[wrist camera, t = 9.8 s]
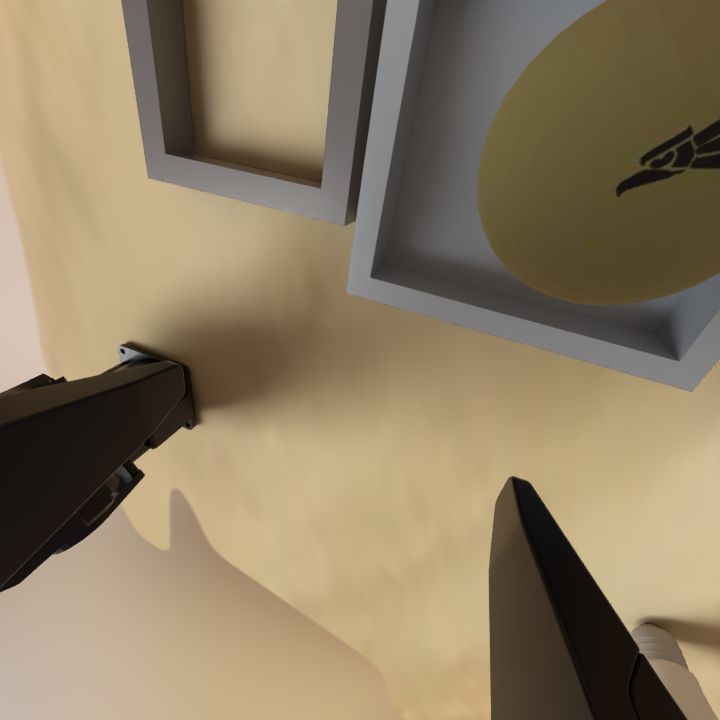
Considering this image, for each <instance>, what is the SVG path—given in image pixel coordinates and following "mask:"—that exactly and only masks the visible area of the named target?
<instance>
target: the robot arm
mask: <svg viewBox="0 0 720 720" xmlns="http://www.w3.org/2000/svg"><path fill="white" fill-rule="evenodd" d="M118 352H119V356H120V360H121V363H120V364H118V365H117V366H115V367H113V368H111V369H109V370H107V371H105V372H103V373H102V374H100V375H97V376H93V377H88V378H83V379H79V380H74V381H69V382H68V381H67V380H66V379H65V377H64V376H63V377H61V378H59V379H57V380H54V379H53V378H51V377H49V376H47V375H45V374H41V375H39V376H37V377H35V378H33V379H31V380H29V381H27V382H24V383H22V384H20V385H18V386H16V387H13V388H11V389H9V390H7V391H4V392H2V393H0V592H2V591H4V590H6V589H9V588H11V587H13V586H16V585H18V584H19V583H21V582H22V581H23V580H24V579H25V578H26V577H27V576H28V575H30V574H31V573H32V572H33V571H34V570H35V569H36V568H37V567H38V566H40V565H41V564H42V563H43V562H44V561H45V560H46V559H48V558H49V557H50V556H51V555H52V554H59V553H61V552H63V551H65V550H67V549H69V548H71V547H72V546H74V545H76V544H77V543H79V542H80V541H82V540H83V539H84V538H86V537H87V536H88V535H90V534H91V533H92V532H93V531H94V530H96V529H97V528H98V527H99V526H100V525H101V524H102V523H103V522H104V521H105V520H106V519H107V518H108V517H109V516H110V514H111V513H112V512H113V511H114V510H115V509H116V508H117V507H118V505H119V504H120V503H121V502H122V501H123V500H124V499H125V498H126V496H127V495H128V494H129V493H130V492H131V491H132V490H133V489H134V487H135V486H136V485H137V484H138V483H139V482H140V481H141V479H142V478H143V477H144V476H145V474H144V473H143V472H142V470H141V469H138V468H137V467H136V466H135V464H134V463H133V462H134V461H135V460H137V459H138V458H139V457H140V456H141V455H143V454H144V453H145V452H146V451H147V450H149V449H150V448H151V449H155V448H157V447H158V446H160V445H161V444H162V443H163V442H164V441H166V440H167V439H168V438H169V437H170V436H171V435H173V434H174V433H175V432H176V431H177V430H179V429H180V428H181V427H184V428H186V429H189V430H192V429H193V428H194V427H195V426H196V420H195V413H194V405H193V397H192V389H191V382H190V374H189V370H188V368H187V367H186V366H184V365H182V364H180V363H177V362H174V361H171V360H169V359H166V358H163V357H161V356H158V355H155V354H152V353H150V352H147V351H144V350H141V349H139V348H136V347H133V346H130V345H128V344H122V345H120V346H118ZM489 621H490V679H491V720H688V719H687V717H686V716H685V714H684V713H683V711H682V710H681V709H680V707H679V706H678V704H677V703H676V701H675V700H674V698H673V697H672V695H671V694H670V692H669V691H668V690H667V688H666V687H665V685H664V684H663V682H662V681H661V679H660V678H659V676H658V675H657V673H656V672H655V670H654V669H653V667H652V666H651V664H650V663H649V661H648V660H647V658H646V657H645V655H644V654H643V653H639V652H640V648H639V646H638V645H637V643H636V642H635V640H634V639H633V637H632V636H631V634H630V633H629V631H628V630H627V628H626V627H625V625H624V624H623V622H622V621H621V619H620V618H619V616H618V615H617V613H616V612H615V610H614V609H613V607H612V606H611V604H610V603H609V601H608V600H607V598H606V597H605V595H604V594H603V592H602V590H601V589H600V587H599V586H598V584H597V583H596V581H595V580H594V578H593V577H592V575H591V574H590V572H589V571H588V569H587V568H586V566H585V565H584V563H583V562H582V560H581V559H580V557H579V556H578V554H577V553H576V551H575V550H574V548H573V547H572V545H571V544H570V542H569V541H568V539H567V538H566V536H565V535H564V533H563V532H562V530H561V529H560V527H559V526H558V524H557V523H556V521H555V519H554V518H553V516H552V515H551V513H550V512H549V510H548V509H547V507H546V506H545V504H544V503H543V501H542V500H541V498H540V497H539V495H538V494H537V492H536V491H535V489H534V488H533V486H532V485H531V483H529V482H528V481H526V480H523V479H520V478H517V477H514V476H511V477H510V478H508V480H507V482H506V483H505V485H504V487H503V489H502V491H501V492H500V494H499V496H498V498H497V501H496V505H495V512H494V522H493V532H492V542H491V552H490V563H489Z"/></svg>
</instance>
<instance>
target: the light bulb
mask: <svg viewBox="0 0 720 720" xmlns="http://www.w3.org/2000/svg"><path fill="white" fill-rule="evenodd" d="M477 195H478V210H479V214H480V218H481V222H482V227H483V230H484V233H485V235H486V237H487V239H488V241H489V243H490V245H491V247H492V250H493V252H494V253H495V254H496V256H497V257H498V258H499V260H500V261H501V262H502V264H503V265H504V266H505V267H506V268H507V269H508V270H509V271H510V272H511V273H512V274H513V275H514V276H515V277H517V278H518V279H519V280H521V281H522V282H523V283H525V284H526V285H528V286H530V287H532V288H533V289H535V290H537V291H539V292H541V293H543V294H545V295H548V296H551V297H555V298H558V299H561V300H565V301H568V302H572V303H579V304H588V305H598V306H604V305H619V304H633V303H639V302H643V301H648V300H653V299H657V298H662V297H666V296H669V295H672V294H674V293H677V292H680V291H683V290H685V289H688V288H691V287H693V286H696V285H698V284H700V283H702V282H704V281H706V280H708V279H710V278H712V277H714V276H715V275H717V274H719V273H720V0H607V1H605V2H603V3H602V4H600V5H598V6H597V7H595V8H594V9H592V10H590V11H589V12H587V13H586V14H584V15H582V16H581V17H580V18H578V19H577V20H576V21H575V22H573V23H572V24H571V25H570V26H568V27H567V28H566V29H565V30H563V31H562V32H561V33H560V34H558V35H557V36H556V37H555V38H554V39H553V40H552V41H551V42H550V43H549V44H548V45H547V46H546V47H545V48H544V49H543V50H542V51H541V52H540V53H539V54H538V55H537V56H536V57H535V58H534V59H533V60H532V61H531V62H530V63H529V65H528V66H527V67H526V69H525V70H524V71H523V73H522V74H521V75H520V77H519V78H518V79H517V81H516V82H515V83H514V85H513V86H512V88H511V89H510V91H509V92H508V93H507V95H506V97H505V99H504V100H503V102H502V104H501V106H500V107H499V109H498V111H497V113H496V115H495V117H494V119H493V121H492V124H491V126H490V128H489V132H488V135H487V138H486V141H485V144H484V147H483V150H482V153H481V159H480V165H479V172H478V179H477Z"/></svg>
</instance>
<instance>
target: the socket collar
mask: <svg viewBox="0 0 720 720" xmlns="http://www.w3.org/2000/svg"><path fill="white" fill-rule="evenodd" d="M121 1H122V8H123V14H124V21H125V28H126V34H127V41H128V47H129V54H130V61H131V67H132V74H133V81H134V87H135V94H136V100H137V107H138V114H139V120H140V127H141V133H142V140H143V147H144V153H145V160H146V166H147V173H148V178H150V179H154V180H158V181H163V182H167V183H171V184H175V185H179V186H183V187H187V188H191V189H195V190H199V191H203V192H208V193H212V194H216V195H220V196H224V197H228V198H232V199H236V200H240V201H244V202H248V203H253V204H257V205H261V206H265V207H269V208H273V209H277V210H281V211H285V212H289V213H294V214H298V215H302V216H306V217H310V218H314V219H318V220H322V221H326V222H330V223H334V224H339V225H343V226H345V225H348V224H350V223H353V222H355V221H356V216H357V209H358V202H359V195H360V188H361V181H362V174H363V167H364V160H365V153H366V146H367V139H368V132H369V125H370V118H371V111H372V104H373V97H374V90H375V83H376V76H377V69H378V62H379V55H380V48H381V41H382V34H383V27H384V20H385V13H386V6H387V0H338V3H337V14H336V26H335V37H334V49H333V60H332V71H331V83H330V94H329V105H328V117H327V128H326V140H325V151H324V162H323V174H322V183H321V182H317V181H312V180H308V179H303V178H299V177H294V176H290V175H285V174H280V173H276V172H271V171H267V170H262V169H258V168H253V167H249V166H244V165H240V164H235V163H231V162H226V161H222V160H217V159H213V158H208V157H203V156H199V155H194V144H193V132H192V120H191V108H190V96H189V85H188V73H187V61H186V49H185V38H184V26H183V14H182V2H181V0H121Z"/></svg>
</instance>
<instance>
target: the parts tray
mask: <svg viewBox="0 0 720 720" xmlns="http://www.w3.org/2000/svg"><path fill="white" fill-rule="evenodd" d="M605 1H607V0H387V6H386V13H385V20H384V27H383V34H382V41H381V48H380V55H379V62H378V69H377V76H376V83H375V90H374V97H373V104H372V111H371V118H370V125H369V132H368V139H367V146H366V153H365V160H364V167H363V174H362V181H361V188H360V195H359V202H358V209H357V216H356V223H355V230H354V237H353V244H352V251H351V258H350V265H349V272H348V279H347V286H346V293H347V294H350V295H354V296H357V297H361V298H364V299H368V300H371V301H375V302H378V303H382V304H385V305H389V306H392V307H396V308H399V309H403V310H406V311H410V312H413V313H417V314H420V315H424V316H427V317H431V318H434V319H438V320H442V321H445V322H449V323H452V324H456V325H459V326H463V327H466V328H470V329H473V330H477V331H480V332H484V333H487V334H491V335H494V336H498V337H501V338H505V339H508V340H512V341H515V342H519V343H522V344H526V345H529V346H533V347H536V348H540V349H543V350H547V351H550V352H554V353H557V354H561V355H564V356H568V357H571V358H575V359H578V360H582V361H585V362H589V363H592V364H596V365H599V366H603V367H606V368H610V369H613V370H617V371H620V372H624V373H627V374H631V375H634V376H638V377H641V378H645V379H648V380H652V381H655V382H659V383H662V384H666V385H669V386H673V387H676V388H680V389H683V390H687V391H690V392H692V391H693V390H694V389H695V388H696V386H697V385H698V384H699V383H700V382H701V380H702V379H703V378H704V377H705V376H706V375H707V373H708V372H709V371H710V370H711V369H712V367H713V366H714V365H715V364H716V363H717V362H718V360H719V359H720V273H719V274H717V275H715V276H714V277H712V278H710V279H708V280H706V281H704V282H702V283H700V284H698V285H696V286H693V287H691V288H688V289H685V290H683V291H680V292H677V293H674V294H672V295H669V296H666V297H662V298H657V299H653V300H648V301H643V302H639V303H633V304H619V305H604V306H598V305H588V304H579V303H572V302H568V301H565V300H561V299H558V298H555V297H551V296H548V295H545V294H543V293H541V292H539V291H537V290H535V289H533V288H532V287H530V286H528V285H526V284H525V283H523V282H522V281H521V280H519V279H518V278H517V277H515V276H514V275H513V274H512V273H511V272H510V271H509V270H508V269H507V268H506V267H505V266H504V265H503V264H502V262H501V261H500V260H499V258H498V257H497V256H496V254H495V253H494V252H493V250H492V247H491V245H490V243H489V241H488V239H487V237H486V235H485V233H484V230H483V227H482V222H481V218H480V214H479V210H478V195H477V179H478V172H479V165H480V159H481V153H482V150H483V147H484V144H485V141H486V138H487V135H488V132H489V128H490V126H491V124H492V121H493V119H494V117H495V115H496V113H497V111H498V109H499V107H500V106H501V104H502V102H503V100H504V99H505V97H506V95H507V93H508V92H509V91H510V89H511V88H512V86H513V85H514V83H515V82H516V81H517V79H518V78H519V77H520V75H521V74H522V73H523V71H524V70H525V69H526V67H527V66H528V65H529V63H530V62H531V61H532V60H533V59H534V58H535V57H536V56H537V55H538V54H539V53H540V52H541V51H542V50H543V49H544V48H545V47H546V46H547V45H548V44H549V43H550V42H551V41H552V40H553V39H554V38H555V37H556V36H557V35H558V34H560V33H561V32H562V31H563V30H565V29H566V28H567V27H568V26H570V25H571V24H572V23H573V22H575V21H576V20H577V19H578V18H580V17H581V16H582V15H584V14H586V13H587V12H589V11H590V10H592V9H594V8H595V7H597V6H598V5H600V4H602V3H603V2H605Z"/></svg>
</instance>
